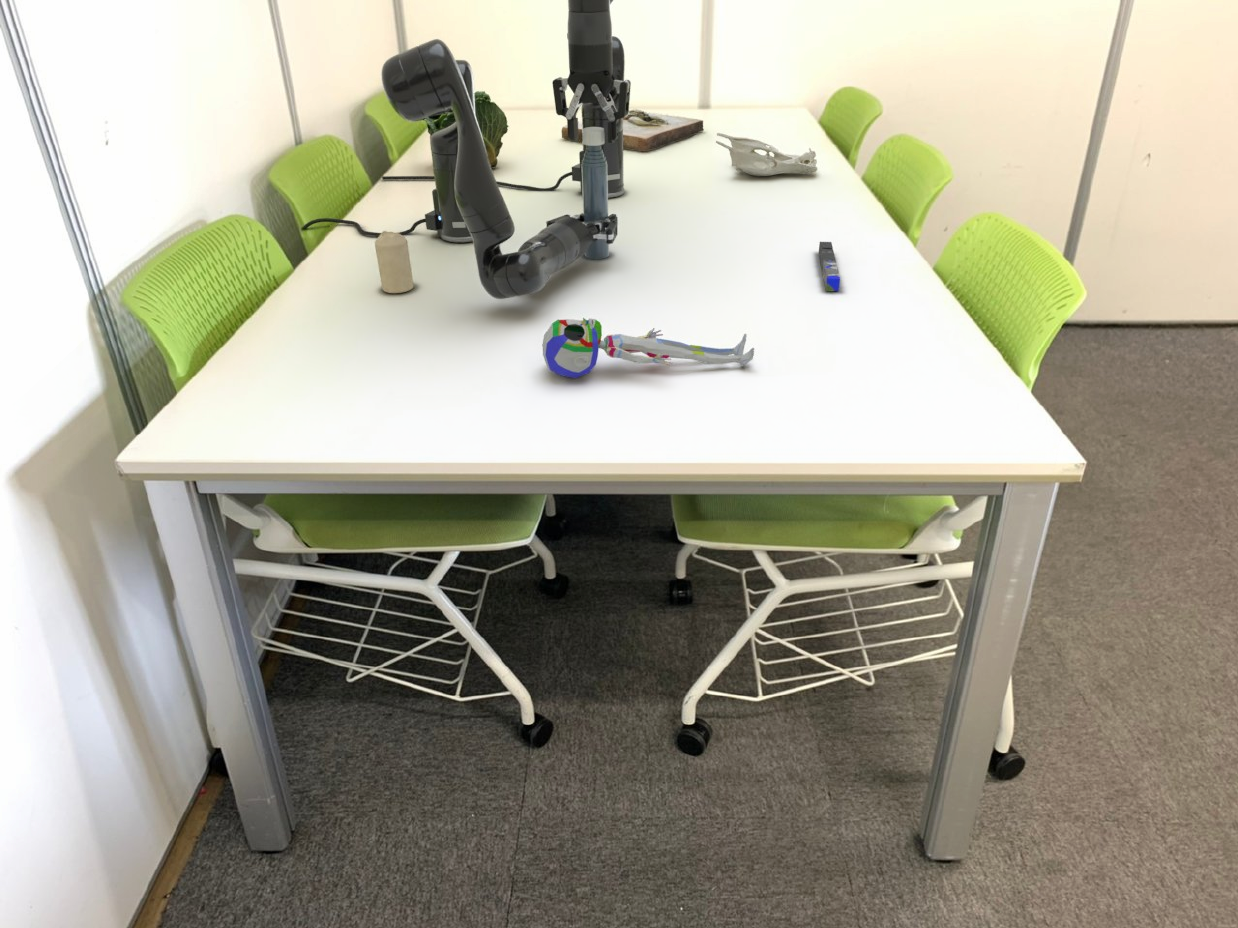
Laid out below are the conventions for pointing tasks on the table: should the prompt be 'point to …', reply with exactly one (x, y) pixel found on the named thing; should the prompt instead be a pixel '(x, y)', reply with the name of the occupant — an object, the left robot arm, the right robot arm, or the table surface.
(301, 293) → the table surface
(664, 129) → the plaque
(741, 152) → the anatomical model
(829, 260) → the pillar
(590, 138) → the cap
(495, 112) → the vegetable
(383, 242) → the candle
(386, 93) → the left robot arm
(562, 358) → the toy
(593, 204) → the bottle
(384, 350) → the table surface
